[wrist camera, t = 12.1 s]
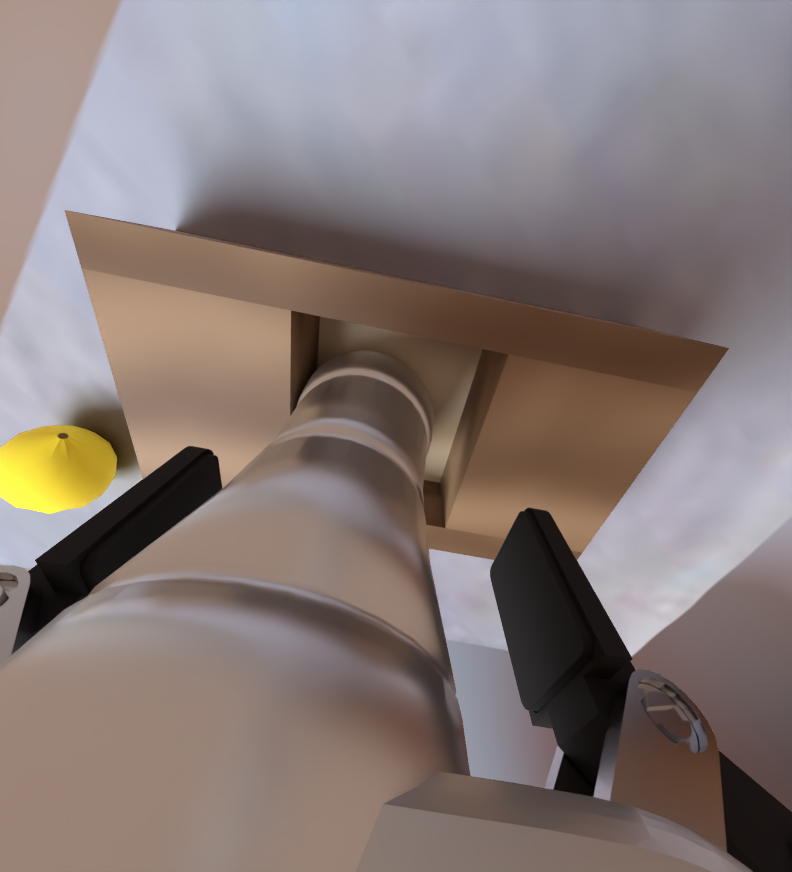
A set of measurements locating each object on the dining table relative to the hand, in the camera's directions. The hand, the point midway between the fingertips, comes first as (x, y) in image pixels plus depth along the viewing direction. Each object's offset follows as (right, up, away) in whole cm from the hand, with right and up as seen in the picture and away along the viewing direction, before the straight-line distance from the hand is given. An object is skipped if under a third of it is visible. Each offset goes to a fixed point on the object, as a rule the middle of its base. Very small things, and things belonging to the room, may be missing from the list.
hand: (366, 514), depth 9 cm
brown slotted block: (+1, +5, +9) cm, 10 cm away
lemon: (-20, +2, +12) cm, 24 cm away
